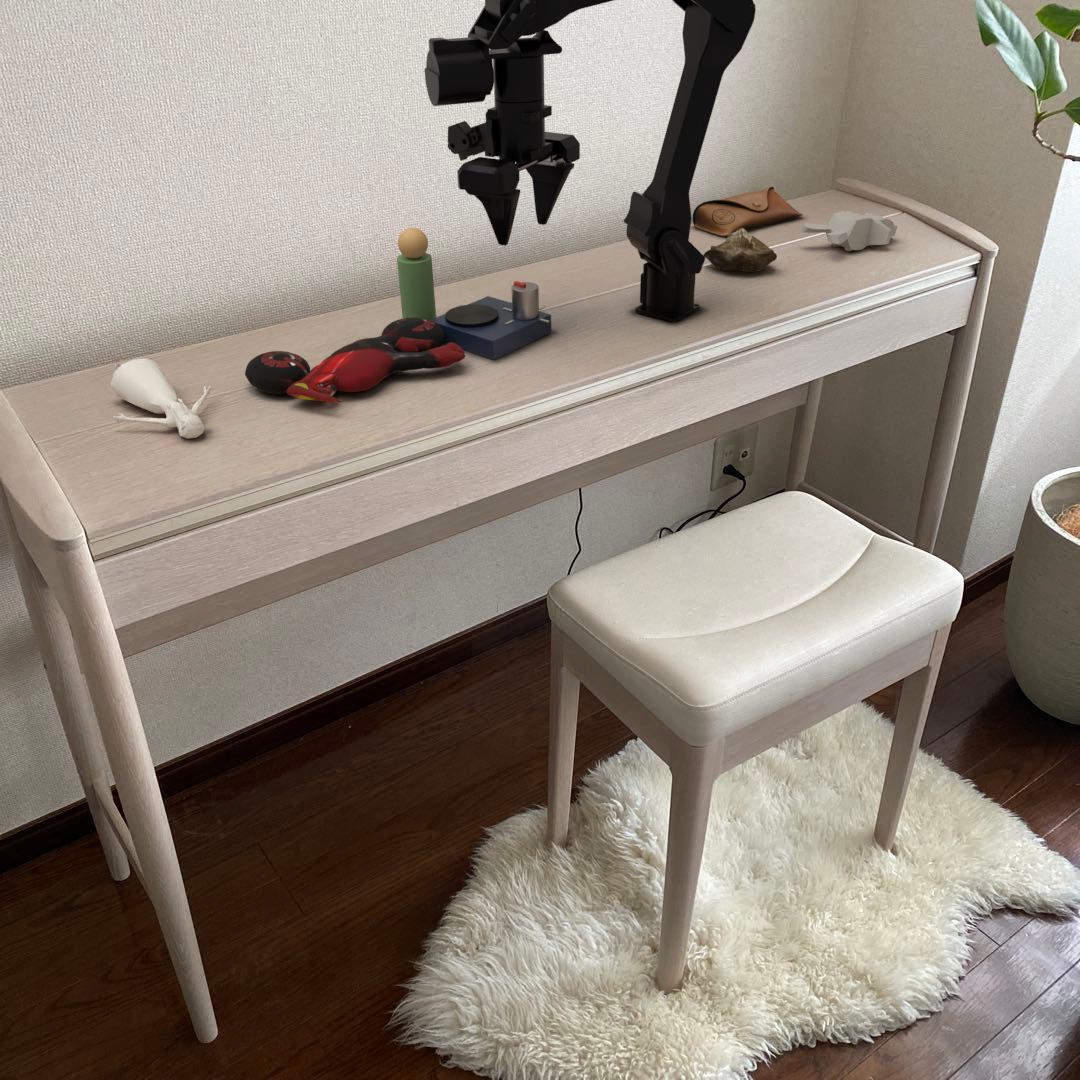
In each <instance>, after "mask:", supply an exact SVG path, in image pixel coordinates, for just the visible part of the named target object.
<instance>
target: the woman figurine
mask: <svg viewBox="0 0 1080 1080" xmlns="http://www.w3.org/2000/svg"><path fill="white" fill-rule="evenodd" d="M206 387H207V386H206V385H204V387H203V392H204V394H202V396H201V397H200V399H198V400H197V401H196V402H194V404H193V406H192V407H191V408H189V407H187V405H186V404H185V403H184V401H183V399H182V398H179V397H178V396H177V393H176V391H175V389H174V387H173V386H172V384H171V383H170V381H169V379H168V377H167V375H166V373H165V372H164V370H163V369H162V368H161V367H160V366H159V365H158V364H157V363H156V362H155V361H154V360H152V359H148V358H142V357H141V358H136V357H135V358H133V359H131V360H129V361H127V362H124V363H122V364H121V365H120V363H119V362H117V363H115V365H114V371H113V374H112V378H111V383H110V388H111V390H112V391H113V393H114V395H115V396H116V397H117V398H119V399H121V400H123V401H125V402H128V403H130V404H132V405H134V406H136V407H138V408H141V409H143V410H146V411H148V412H151V413H153V414H165V416H166V418H158V417H127V416H126V415H125V414H123V413H120V412H118V413H117V414H118V415H119V416H118V415H117V416H115V415H112V416H111V417H112V418H111V420H113V421H114V422H115V421H116V422H118V423H140V424H152V425H159V426H165V427H166V428H168V429H170V428H177V430H178V435H179V437H183V438H185V439H187V440H188V439H197V438H199V436H201V435H203V433H204V432H205V425H204V423H203V421H202V419H201V418H200V417H199V416H198V414H197V413H198V411H199V410H200V407H201V406H203V404H204V402H205V400H206V399H207V397H208V396H209V395H210V394H211V391H212V387H211V385H209V386H208V387H207V388H206Z"/></svg>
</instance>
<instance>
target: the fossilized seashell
mask: <svg viewBox="0 0 1080 1080" xmlns="http://www.w3.org/2000/svg"><path fill="white" fill-rule="evenodd" d="M702 255H703V256H704V257H705V259H707V260H708V262H710V264H711V265H712V266H713V267H715V268H716V269H717V270H721V271H727V272H733V271H742V272H747V273H755V272H759V271H762V270H764V269H765V268H766V267H767V266H769V265H770V264H772V263H773V262H775V261H776V260H777V258H778V256H777V253H776V252H775V251H774V249H772V248H770V247H769V246H768V245H766V244H765V243H764V242H763V241H761V240H760V239H758V237H755V236H754V235H752V234H750V233H749V232H748V230H745V229H744V228H740V229H738V230H737V231H736V232H734V233H730V234H729V235H728V236H726V238H725V240H724V241H722V242H721V243H720V244H717V245H711V246H710V249H708V250H706V251H705V252H704V253H702Z"/></svg>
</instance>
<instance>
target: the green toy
mask: <svg viewBox="0 0 1080 1080" xmlns="http://www.w3.org/2000/svg"><path fill="white" fill-rule="evenodd" d="M397 247H398V250H399V252H400V253H401V254H399V255H398V256H397V257H396V263H397V274H398V275H397V276H398V284H399V294H400V306H401V316H402V319H403V318H412V317H415V318H425V319H429V320H432V319H434V318H437V308H436V307H437V306H436V297H435V283H434V270H433V259H432V257H433V256H432V255H431V254H430V253H428V252H427V250H428V248H429V239H428V237H427V235H426V233H425V232H424V231H423V230H421V229H420V228H417V227H408V228H406V229H404V230H403V231H401V233H400V234H399V235H398V237H397Z"/></svg>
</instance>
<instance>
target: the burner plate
mask: <svg viewBox="0 0 1080 1080" xmlns="http://www.w3.org/2000/svg"><path fill="white" fill-rule="evenodd" d="M498 318H499V313H498V311H497V310H496V309H495V308H493V307H490V306H486V305H476V304H473V305H468V304H464V305H463V304H462V305H459V306H455V307H452V308H450V309H449V310H447V311H446V312H445V320H446V322H447V323H449V324H451V325H453V326H457V327H464V328H475V327H482V326H486V325H490V324H492V323H494V322H495V321H497V320H498Z"/></svg>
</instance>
